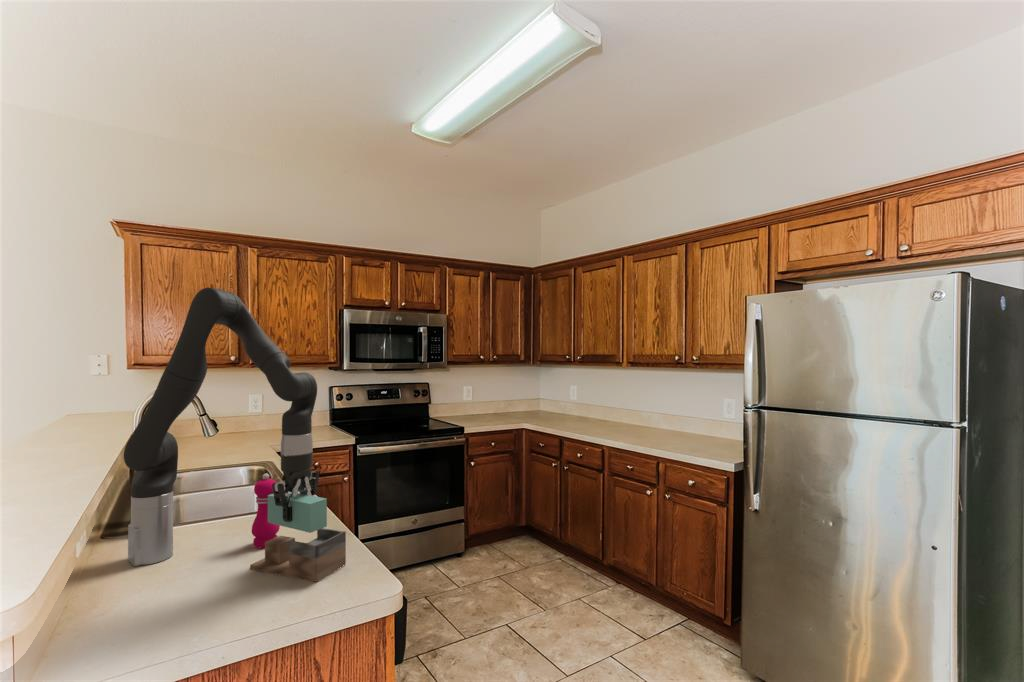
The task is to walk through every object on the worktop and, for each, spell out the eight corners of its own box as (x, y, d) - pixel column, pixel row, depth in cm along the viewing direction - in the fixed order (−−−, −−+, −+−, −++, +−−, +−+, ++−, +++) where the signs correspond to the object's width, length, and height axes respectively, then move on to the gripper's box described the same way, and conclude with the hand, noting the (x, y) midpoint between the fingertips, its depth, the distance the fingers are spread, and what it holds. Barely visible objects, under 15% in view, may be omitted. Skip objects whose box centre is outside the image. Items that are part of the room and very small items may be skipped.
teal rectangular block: (267, 522, 131) (267, 495, 131) (284, 516, 136) (284, 490, 136) (310, 532, 124) (310, 504, 124) (326, 526, 128) (326, 498, 128)
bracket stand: (250, 568, 128) (250, 534, 128) (281, 553, 138) (281, 522, 138) (317, 582, 121) (317, 546, 121) (345, 564, 130) (345, 531, 130)
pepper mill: (284, 539, 148) (284, 470, 148) (270, 549, 141) (270, 476, 141) (261, 538, 149) (261, 470, 149) (245, 548, 141) (246, 476, 142)
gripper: (305, 445, 138) (305, 507, 138) (262, 455, 125) (262, 525, 124) (328, 446, 135) (328, 510, 135) (286, 457, 122) (286, 528, 122)
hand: (296, 517), depth 130 cm, fingers closed on teal rectangular block, 5 cm apart
